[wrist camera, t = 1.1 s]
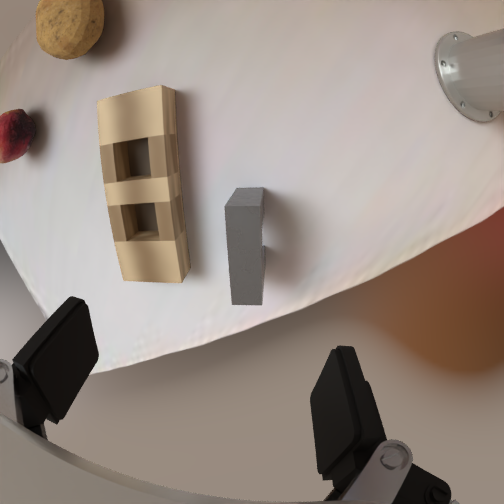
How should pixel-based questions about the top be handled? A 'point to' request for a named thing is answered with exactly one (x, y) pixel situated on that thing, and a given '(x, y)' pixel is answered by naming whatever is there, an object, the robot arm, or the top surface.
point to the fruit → (15, 134)
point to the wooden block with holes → (144, 184)
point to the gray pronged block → (246, 245)
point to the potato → (68, 26)
